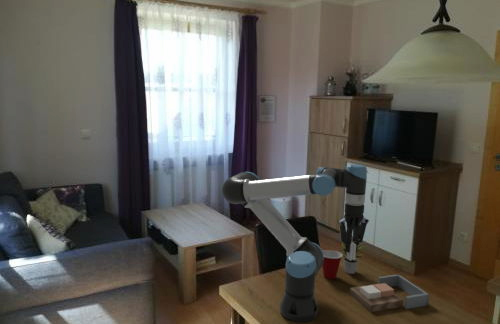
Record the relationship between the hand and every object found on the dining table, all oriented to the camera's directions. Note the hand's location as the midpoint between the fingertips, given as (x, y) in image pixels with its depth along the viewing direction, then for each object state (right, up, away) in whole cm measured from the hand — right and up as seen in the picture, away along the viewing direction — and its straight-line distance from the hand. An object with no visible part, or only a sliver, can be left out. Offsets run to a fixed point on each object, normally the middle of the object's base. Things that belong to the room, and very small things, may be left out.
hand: (350, 258), depth 158 cm
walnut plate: (+13, -20, +8) cm, 25 cm away
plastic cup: (-3, -16, +29) cm, 33 cm away
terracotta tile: (+16, -17, +8) cm, 25 cm away
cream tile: (+10, -17, +6) cm, 21 cm away
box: (+26, -19, +12) cm, 35 cm away
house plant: (+10, -15, +35) cm, 39 cm away
